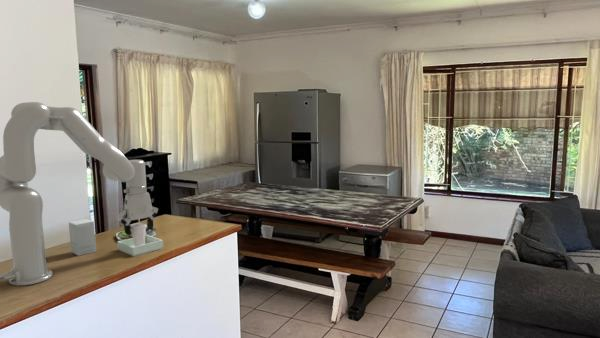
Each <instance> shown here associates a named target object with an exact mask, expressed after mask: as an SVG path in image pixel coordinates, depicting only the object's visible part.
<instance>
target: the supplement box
mask: <svg viewBox="0 0 600 338" xmlns="http://www.w3.org/2000/svg"><path fill="white" fill-rule="evenodd" d="M68 231H69V232H68V233H69V240H70V241H69V242H70V252H71V253H72V254H73V255H76V256H79V257H80V256H82V255H87V254H91V253H95V252H97V245H96V234H95V233H96V232H95V231H96V230H95V221H94V220H91V219H89V218H83V219H78V220H73V221H69V222H68Z"/></svg>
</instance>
